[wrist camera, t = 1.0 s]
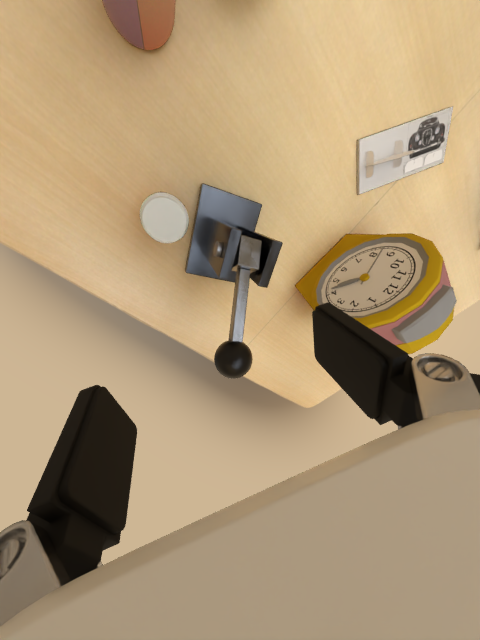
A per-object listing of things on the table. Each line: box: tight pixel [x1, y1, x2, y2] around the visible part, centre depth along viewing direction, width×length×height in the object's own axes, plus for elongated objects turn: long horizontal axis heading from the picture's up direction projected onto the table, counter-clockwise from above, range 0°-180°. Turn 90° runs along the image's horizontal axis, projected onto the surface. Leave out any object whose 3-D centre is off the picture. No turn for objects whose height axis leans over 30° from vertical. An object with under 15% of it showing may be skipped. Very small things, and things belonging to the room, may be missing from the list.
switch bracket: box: [185, 184, 282, 288], centre depth 26 cm, size 11×8×13 cm
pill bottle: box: [140, 192, 189, 243], centre depth 24 cm, size 5×5×8 cm
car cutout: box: [357, 107, 453, 195], centre depth 31 cm, size 15×7×4 cm, turn 106°
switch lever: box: [214, 235, 262, 378], centre depth 22 cm, size 13×4×4 cm, turn 163°
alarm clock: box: [295, 234, 456, 354], centre depth 31 cm, size 15×8×18 cm, turn 133°
